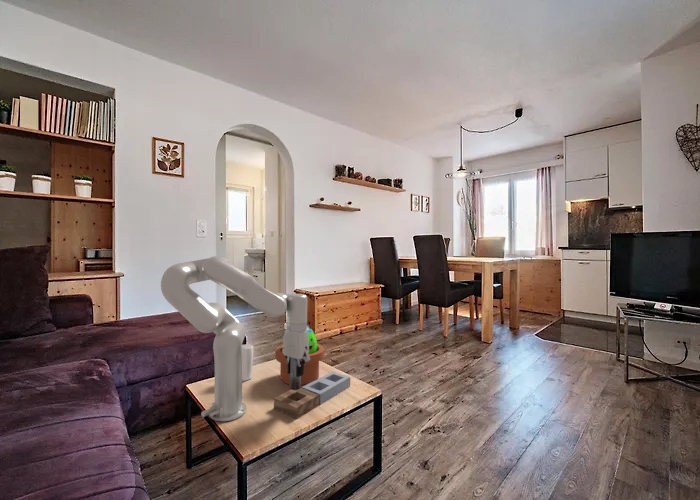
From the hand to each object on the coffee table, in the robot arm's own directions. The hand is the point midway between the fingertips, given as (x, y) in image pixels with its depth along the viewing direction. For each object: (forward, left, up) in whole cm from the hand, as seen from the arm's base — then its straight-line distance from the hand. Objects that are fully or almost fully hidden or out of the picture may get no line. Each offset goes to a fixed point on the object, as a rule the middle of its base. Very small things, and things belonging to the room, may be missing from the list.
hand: (295, 373), depth 122 cm
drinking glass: (+4, +37, -13) cm, 39 cm away
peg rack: (+17, -1, -13) cm, 22 cm away
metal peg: (0, 0, -5) cm, 5 cm away
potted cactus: (+20, +18, -13) cm, 30 cm away
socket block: (0, 0, -13) cm, 13 cm away
